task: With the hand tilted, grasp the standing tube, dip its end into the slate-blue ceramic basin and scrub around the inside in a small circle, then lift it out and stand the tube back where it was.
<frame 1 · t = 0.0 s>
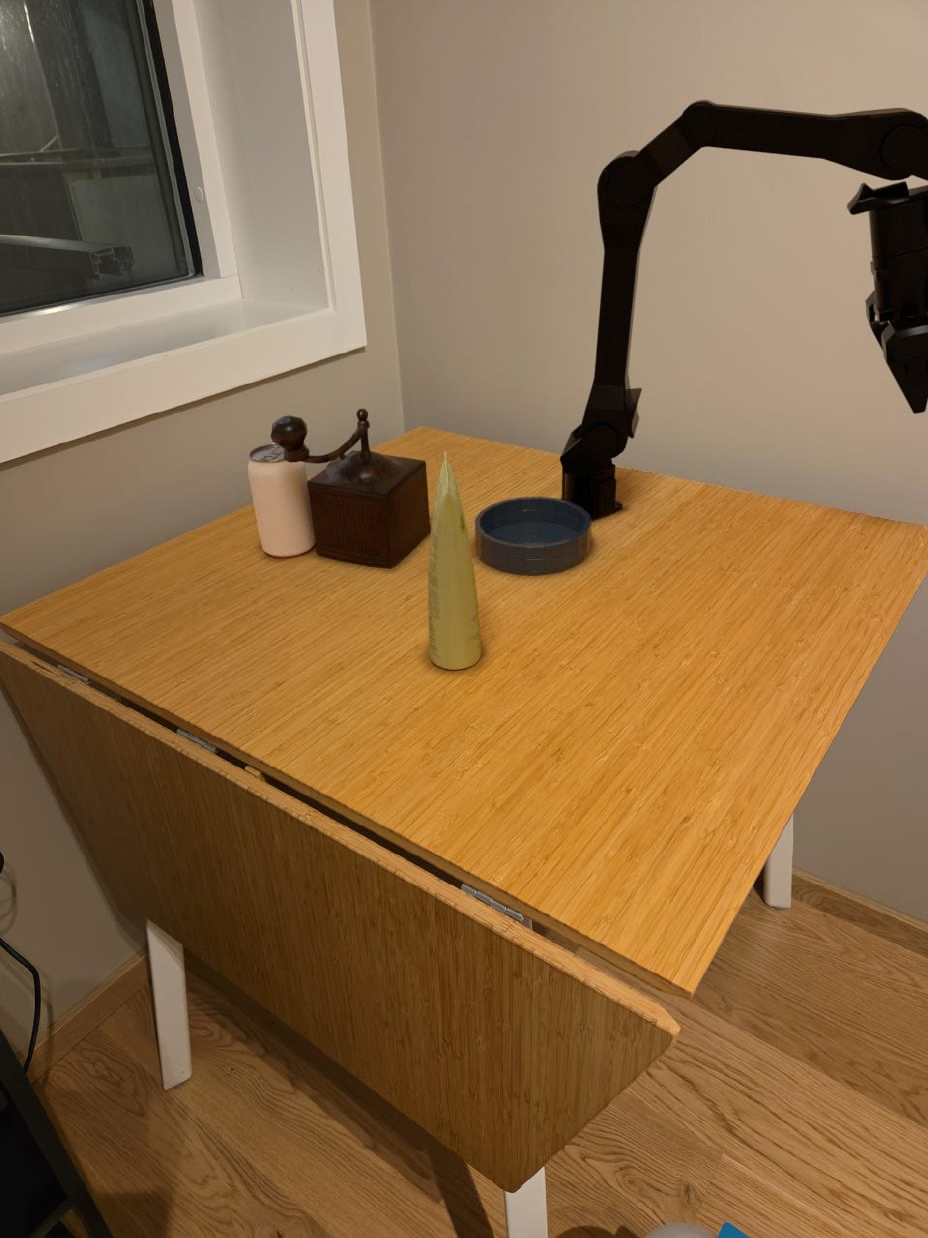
hand: (912, 398, 97), 15 cm above the table, tool pointing down, fingers open, 9 cm apart
can: (289, 547, 108), on the table
manual coffee grinder: (362, 553, 106), on the table
basin: (532, 547, 105), on the table
tube: (455, 659, 86), on the table
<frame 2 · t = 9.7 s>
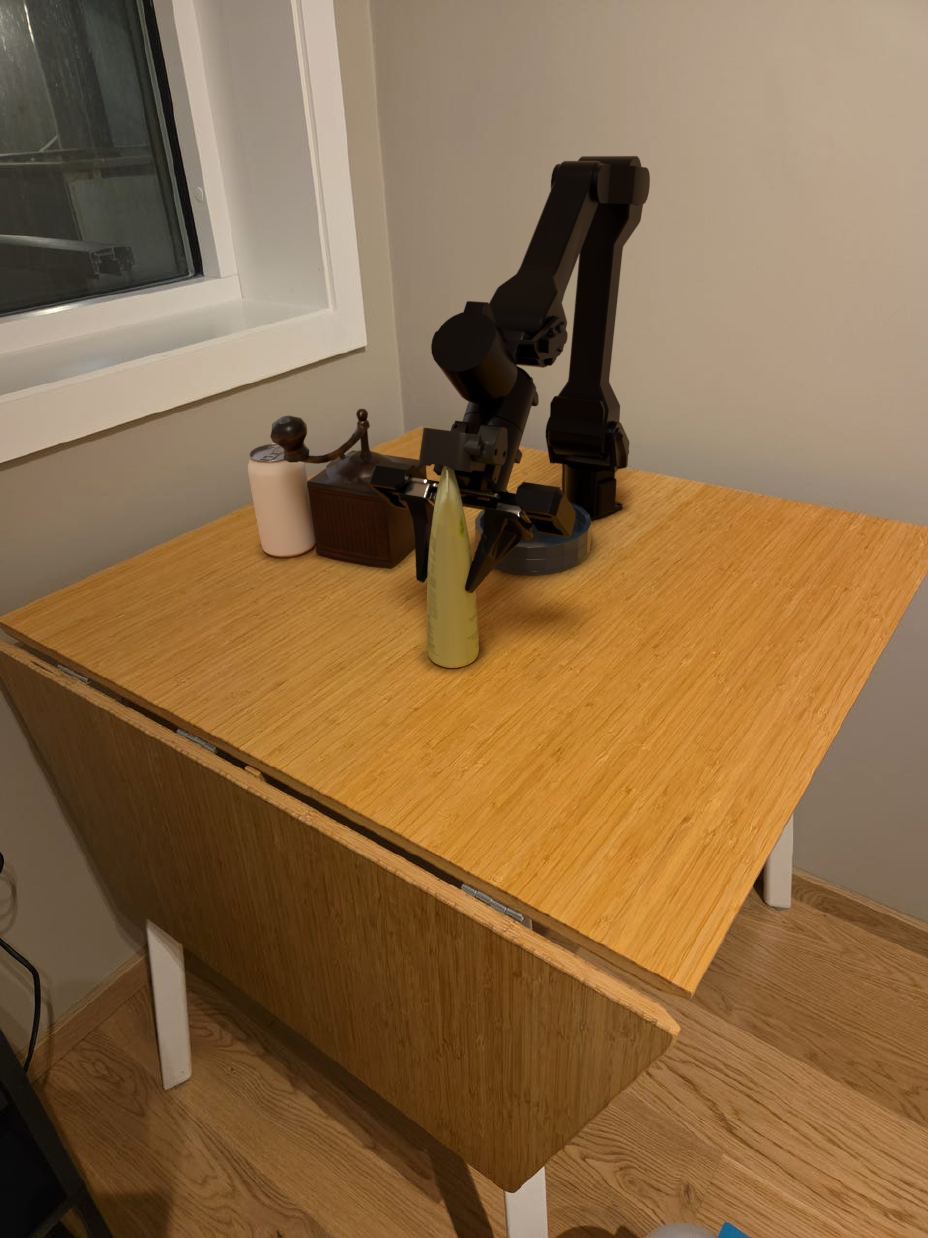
hand: (443, 586, 81), 9 cm above the table, tool tilted 45°, fingers closed on tube, 4 cm apart
tube: (453, 656, 87), on the table, touching gripper
everything else where it was.
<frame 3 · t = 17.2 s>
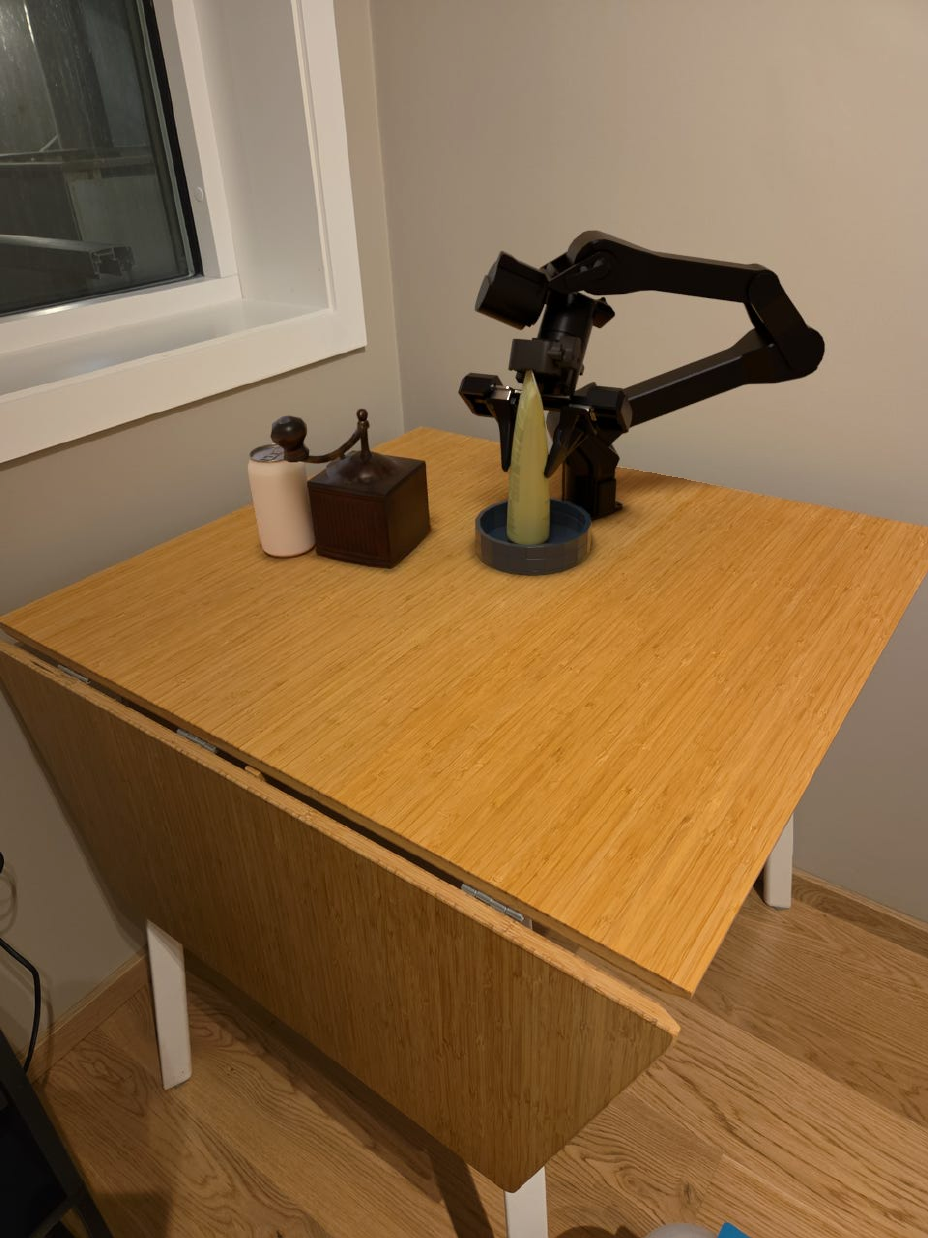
hand: (524, 473, 98), 10 cm above the table, tool tilted 45°, fingers closed on tube, 4 cm apart
tube: (527, 538, 104), point 1 cm above the table, touching gripper
everything else where it was.
when the fingers open (9 cm above the table, at t = 24.7 s): tube stays where it is, on the table.
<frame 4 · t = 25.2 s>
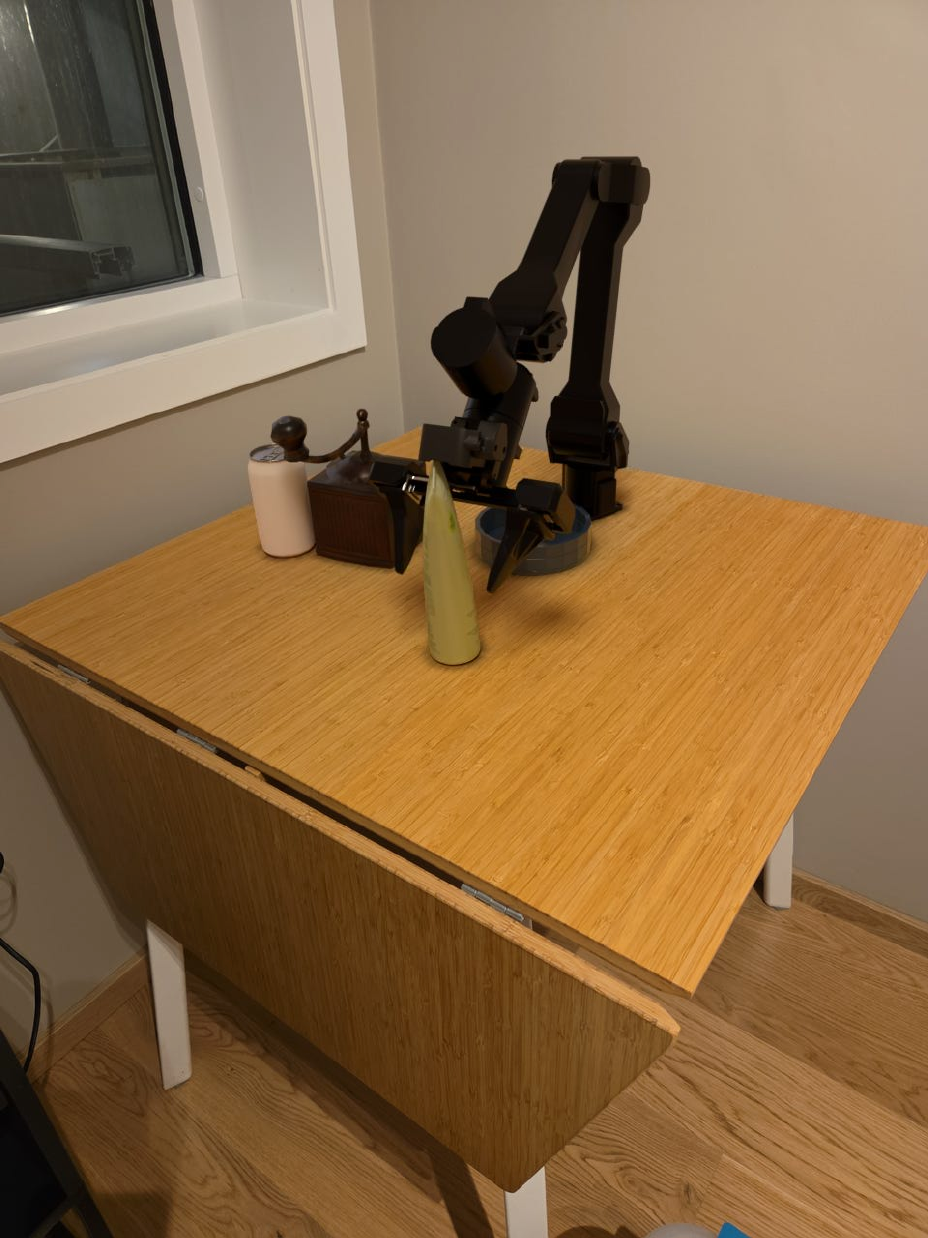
hand: (443, 582, 81), 9 cm above the table, tool tilted 45°, fingers open, 9 cm apart
tube: (455, 653, 87), on the table, touching gripper
everything else where it was.
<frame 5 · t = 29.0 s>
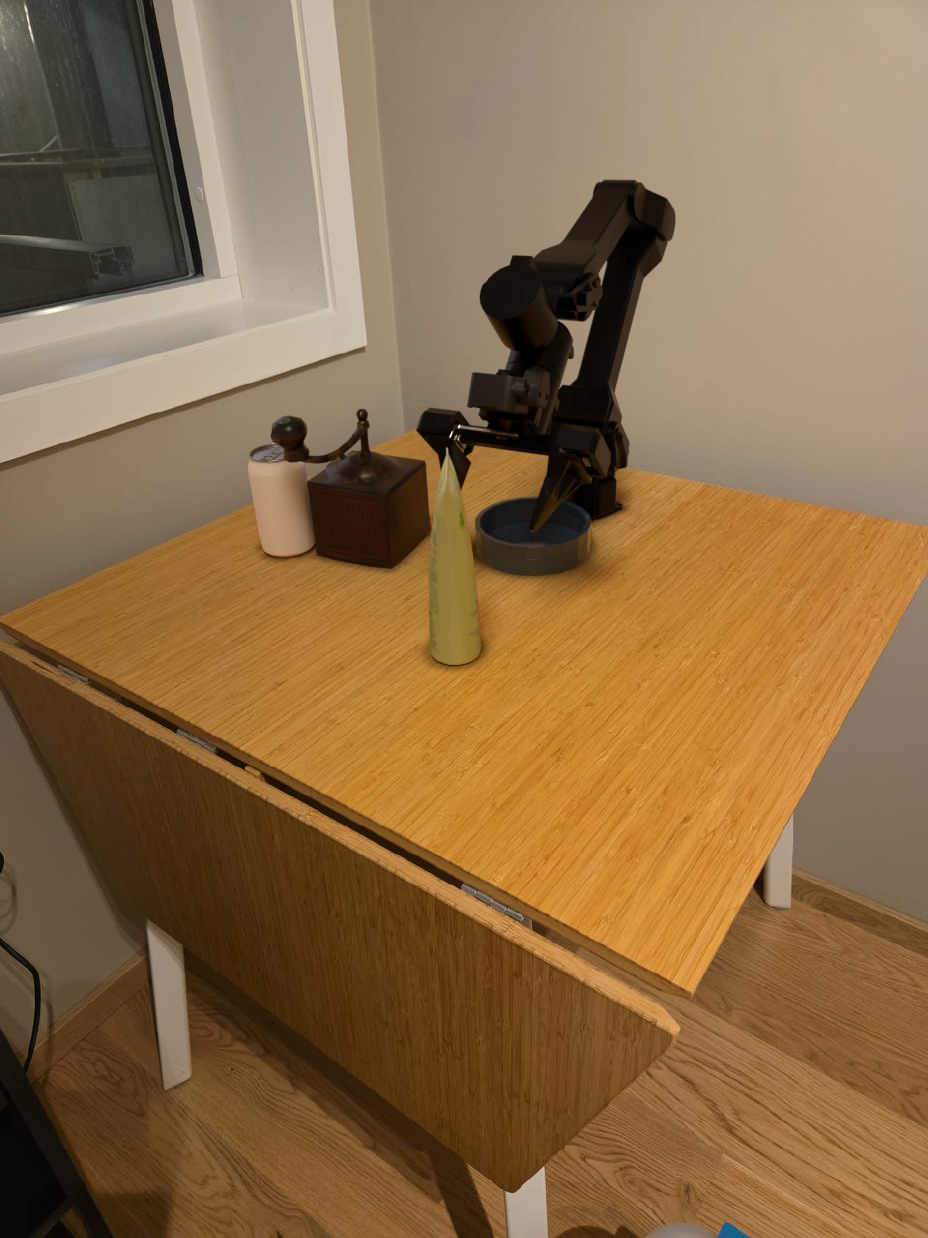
hand: (488, 523, 87), 11 cm above the table, tool tilted 45°, fingers open, 9 cm apart
tube: (455, 655, 87), on the table
everything else where it was.
at the end: tube 0.8 cm from the target spot on the table beside the basin, on the table; tube tilted 0°; the gripper is holding nothing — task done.
